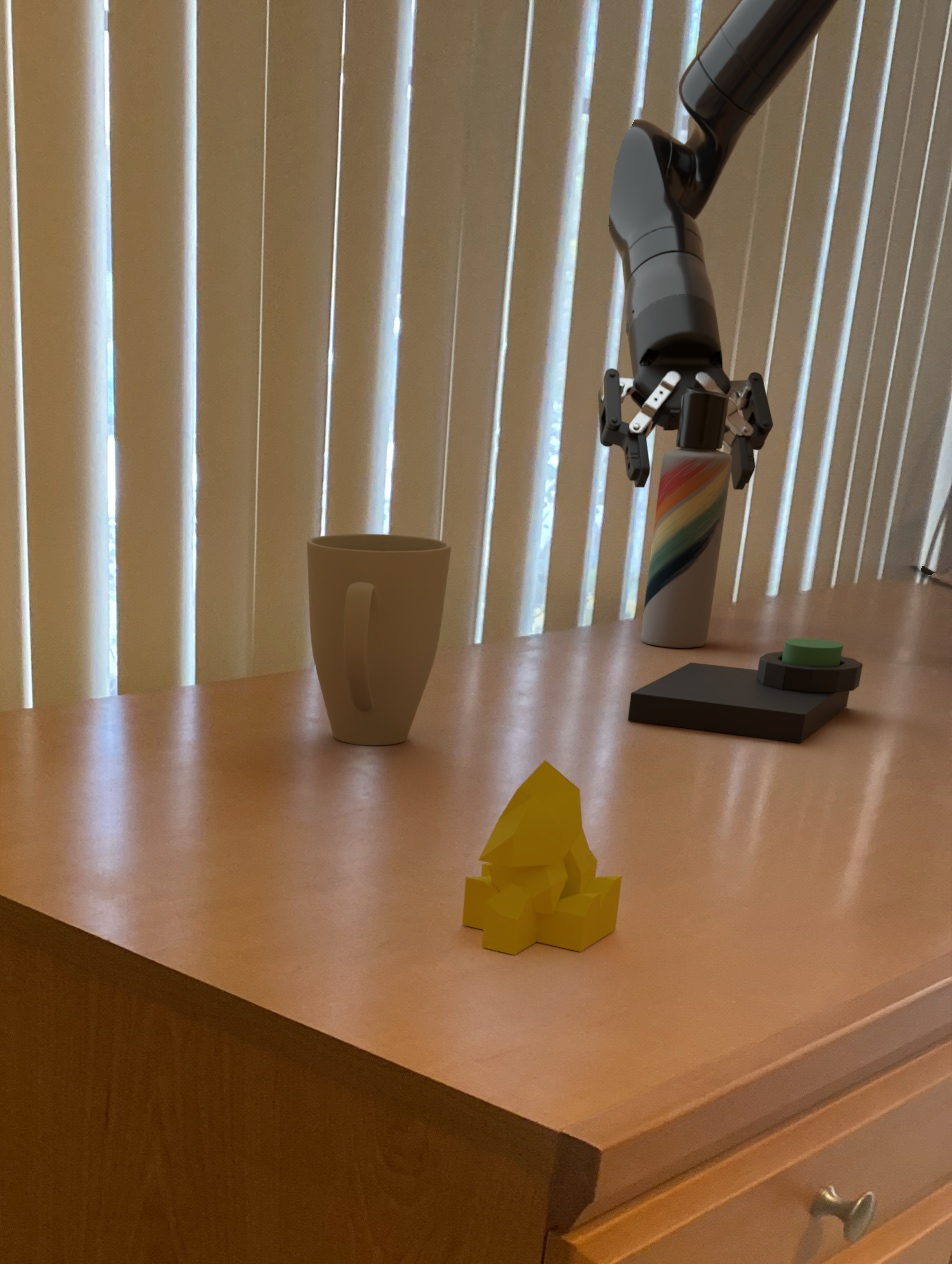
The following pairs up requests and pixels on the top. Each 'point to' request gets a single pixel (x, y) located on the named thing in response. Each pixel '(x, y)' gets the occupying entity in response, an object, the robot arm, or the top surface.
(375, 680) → the mug
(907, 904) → the top surface
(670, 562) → the lotion bottle
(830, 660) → the button
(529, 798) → the yellow faceted pointed figurine
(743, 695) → the scale
